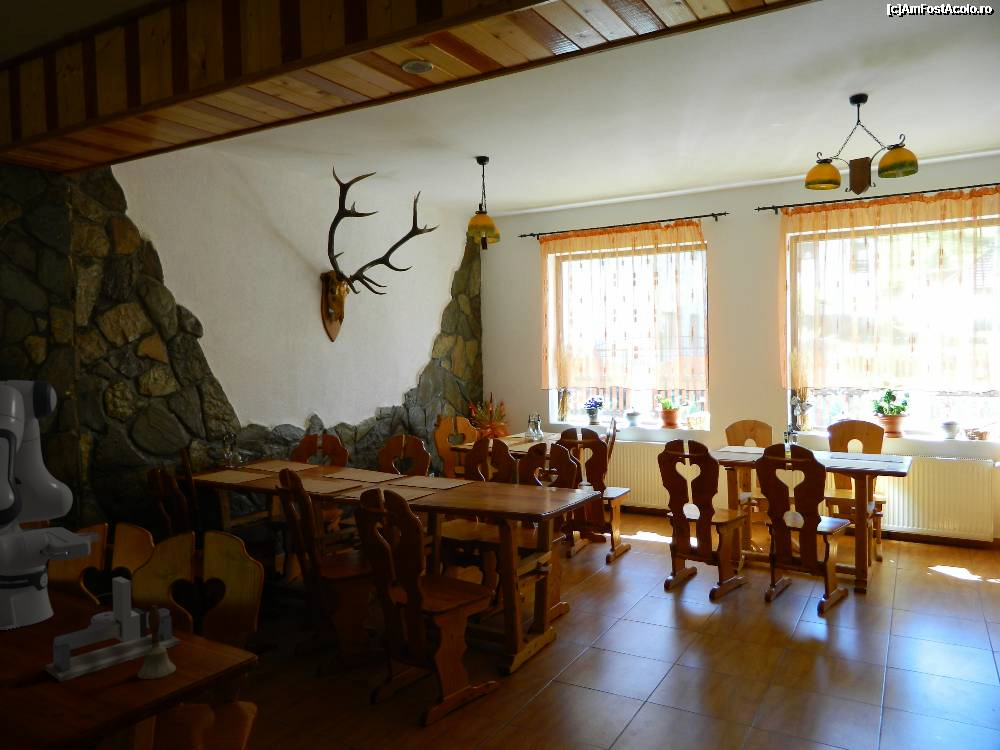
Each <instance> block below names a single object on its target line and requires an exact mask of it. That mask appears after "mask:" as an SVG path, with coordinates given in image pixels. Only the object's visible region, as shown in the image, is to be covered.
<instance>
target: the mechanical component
mask: <svg viewBox="0 0 1000 750" xmlns="http://www.w3.org/2000/svg"><path fill="white" fill-rule="evenodd" d="M113 621H114V618H113V610H112V611H103V612H101V613H96V614H95V615H93V616H91V618H90V625H89V626H87V627H86V628H85V629H87V628H91V627H95V626H99V625H102V624H106V623H110V622H113Z"/></svg>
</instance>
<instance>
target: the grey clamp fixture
mask: <svg viewBox="0 0 1000 750" xmlns="http://www.w3.org/2000/svg"><path fill="white" fill-rule="evenodd" d="M158 610H159V613H160V627H159V638H160V639H161V640H163V641H166V640H170V639H172V636H173V631H172V629H173V628H172V627H173V626H172V625H173V624H172V616H171V615H170V614H171V613H170V609H167V608H165V607H162V608H159V609H158ZM149 612H150V611H147V612H146V624H147V629H150V627H149V621H148V617H149ZM86 628H87V627H86ZM86 628H84V629H80V630H77V631H74V632H69V633H65V634H62V635H58V636H55V637H54V641H53V643H52V650H53V663H54V667H55V668H56V669H58V670H59V671H60V672H64V671H67V670H71V665H70V658H71V651H72V650H74V649H75V650H76V649H79V648H82V647H85V646H91V645H93V644H96V643H99V642H103V641H107V640H110V639H114V638H115V637H118V636H121V635H122V622H120V621H119V620H117V621H113V622H110V623H106V624H102V625H99V626H95V627H91V628H87V629H86Z"/></svg>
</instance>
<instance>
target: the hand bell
mask: <svg viewBox="0 0 1000 750" xmlns="http://www.w3.org/2000/svg"><path fill="white" fill-rule="evenodd" d="M148 612H149V617H148V621H149V629H150V632H151V633H150V634H152V647H151V648H150V649H148V650H147V651H146V655H145V656H144V662H143V664H142V667H141V669H139V670H138V672H137V678H138V679H140V680H145V679H151V680H157V678H158V679H162V678H164V677H167V676H169V674H170V675H171V674H173V673H174V672H176V669H177V667H176V664H174V663H173V662H172V661H171V660H170V658H169V655H168V651H167V649H166V648H165V647H164V646H160V641H159V627H160V613H159V610H158V606H157V604H153V605H151V606H150V609H149V611H148Z"/></svg>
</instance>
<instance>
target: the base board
mask: <svg viewBox="0 0 1000 750" xmlns="http://www.w3.org/2000/svg"><path fill="white" fill-rule="evenodd" d="M159 641H160V646H164V647H165V648H168V649H170V647H171V648H173V646H174V647H176V646H175V645H177V646H179V645H178V644H180V645H181V639H179V638H177V637H175V636H173V635H172V639H170V640H166V641H163V640H161V639H160V638H159ZM151 647H152V633H150V634H147V636H146V637H142V638H139V639H135V640H132V641H129V642H125V643H123V642H120V643H116V644H114V645H110V646H106V647H103V648H100V649H96V650H94V651H93V650H92V651H89V652H86V653H82V654H78V655H76V656H72V657H70V665H71V670H67V671H64V672H60V671H59V670H58V669H56V668H55V667H54V662H52V663H49V664H45V671H46V672H48V673H49V674H50V675H51V676H52V677H54V678H55V679H56V680H57V681H58V682H60V683H61V682H65V681H68V680H72V679H74V677H75V678H77V676H78V677H80V675H81V676H84V675H87V674H90V672H91V673H94V672H97V671H99V670H103V668H104V669H106V668H110V667H113V666H115V665H119V664H122V663H125V661H126V662H129V661H132V660H135V658H136V659H139V658H142V657H145V656H146V651H147V650H148V649H150V648H151ZM141 656H142V657H141ZM138 657H139V658H138ZM128 660H129V661H128ZM93 671H94V672H93ZM86 673H87V674H86ZM83 674H84V675H83Z"/></svg>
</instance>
